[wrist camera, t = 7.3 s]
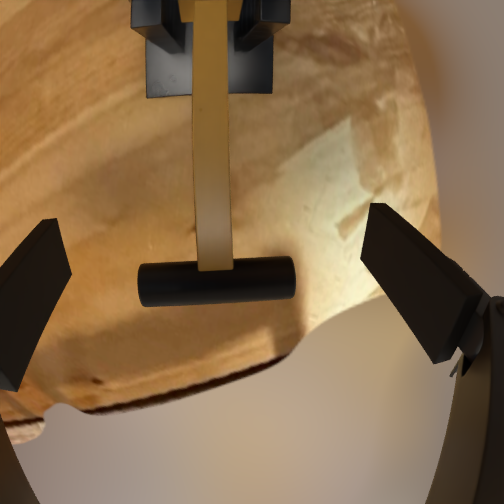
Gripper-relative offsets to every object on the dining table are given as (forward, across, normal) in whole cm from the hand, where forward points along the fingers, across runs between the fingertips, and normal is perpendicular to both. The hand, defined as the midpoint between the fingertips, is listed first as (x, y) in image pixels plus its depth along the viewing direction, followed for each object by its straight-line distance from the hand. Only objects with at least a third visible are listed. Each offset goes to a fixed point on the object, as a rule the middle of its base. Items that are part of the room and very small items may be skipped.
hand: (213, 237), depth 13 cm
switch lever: (0, 0, +5) cm, 5 cm away
